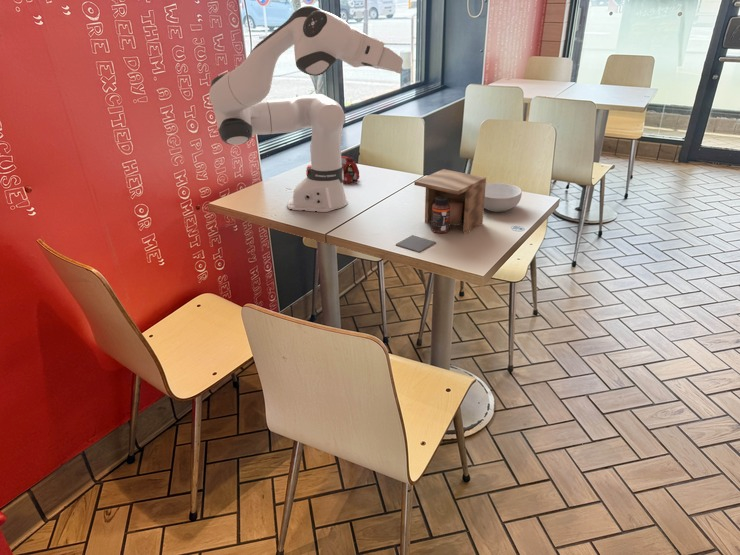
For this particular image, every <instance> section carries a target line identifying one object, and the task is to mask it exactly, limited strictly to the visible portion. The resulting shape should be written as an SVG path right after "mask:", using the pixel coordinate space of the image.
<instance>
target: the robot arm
mask: <svg viewBox="0 0 740 555" xmlns="http://www.w3.org/2000/svg"><path fill="white" fill-rule="evenodd" d="M291 47H293V48H294V59H295V65H296V67H297V69H298V70H299V71H300V72H302V73H304V74H305V75H309V76H313V77H315V76H316V77H317V76H321V75H323V74H324V73H326V72H327V71H328V70H330V68H331V67H332V66H334V65H335V63H336V61H337V60H340V61H342V62H344V63H346V64H348V65H350V66H351V67H353V68H360V67H370V68H374V69H377V70H379V69H380V70H385V71H389V72H394V73H397V74H399V75H401V74H402V73H403V68H404V67H403V63H404V60H403V57H401V56H400V55H398V54H397V53H396V52H394V51H393V50H392V49H390V48H389V47H386V46H385V42H383V41H381V40H380V39H377V38H375V37H372V36H369V35H368V34H366V33H364V31H361V30H359V29H358V28H356V27H354V26H353V27H352V26H350V25H349V24H348V22H346V21H345V20H343V19H342V18H341V17H339V16H337V15H335V14H333V13H331V12H328V11H325V10H323V9H322V8H320V7H318V6H315V5H313V4H306V5H302V6H300V7H299V8H297V9H295V11H294V12H293V13H292V14H291V15H290V17H289V18H288V19H287V20H286V21H285V22H283V23H282V24H281V25H280V26H279V27H278V28H276V29H275V30H273V31H272V32H271V33H270V34H268V35H267V36H266V37H264V38H263V39H262V40H261V41H259V42H258V43H257V44H256V45H255V46H254V48H252V50H251V52H250V53H249V54H248V56H247V57H246V58H245V59H244V61H242V63H241V64H239V65H238V66H237V67H236V68H234V69H233V70H231V71H229V72H228V73H227V72H226V74H220V75H218V76H215V78H213V80H212V81H211V84H210V89H209V92H208V94H209V95H208V98H209V102H210V103H211V105H212V110H213V114H214V117H215V122H216V124H217V128H218V135H219V136H220V139H221V141H222V142H224V143H225V144H226V145H230V146H231V145H232V146H238V145H243V144H245V143H247V142H249V141H250V140H251V138H252V137H253V135H263V136H264V135H275V134H277V135H278V134H285V133H294V132H296V131H299V130H304V129H306V128H311V140H310V145H309V152H310V162H311V163H310V164H309V165H307V166H306V170H305V171H306V172H305V175H306V177H305V178H304V179H303V180H302V181H301V182H300V183H298V184H297V185H296V186H295V187H294V189H293V194H292V197H291V198H289V200H288V202H287V208H288V209H289V210H290V209H292V210H291V211H293V210H294V211H302V210H305V211H304V212H315V211H317V212H318V213H319V212H320V213H329V212H331V211H333V210H337V209H341V208H343V207H346V206H347V204H348V200H347V195H346V192H345V188H344V182H343V180H344V173H343V166H342V164H341V156H342V137H343V128H344V124H345V121H346V115H345V112H344V109H343V107H342V106H341V105H340V103H339V102H338V101H337V100H334V99H332V98H330V97H328V95H325V94H322V93H315V94H314V93H313V94H309V95H308V94H307V95H301V96H295V97H292V98H282V99H268V100H265V98H266V97H267V96H268V95H269V93H270V90H271V88H272V85H273V84H272V82H273V76H274V72H275V68H276V64H277V62H278V60H279V58H280V57H281V56H282V55H283V53H285V52H286V51H287V50H288V49H290V48H291Z"/></svg>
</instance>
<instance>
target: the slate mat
mask: <svg viewBox="0 0 740 555" xmlns="http://www.w3.org/2000/svg"><path fill="white" fill-rule="evenodd" d="M436 243H437V242H436V241H434V240H430V239H427V238H425V237H420V236H416V235H414V234H411V235H410V236H408V237H407V238H404V239H402V240H401V241H399V242H397V243H395V246H397V247H401V248H403V249H407V250H410V251H413V252H417V253H421V252H422V251H425V250H426V249H428V248H429V247H432V246H433V245H435V244H436Z"/></svg>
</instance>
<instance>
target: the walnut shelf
mask: <svg viewBox="0 0 740 555" xmlns="http://www.w3.org/2000/svg"><path fill="white" fill-rule="evenodd" d="M486 181H487V177H486V176H481V175H476V174H470V173H466V172H461V171H455V170H450V169H445V168H443V169H440V170H438V171H435V172H433V173H431V174H428V175H426V176H424V177H421V178H420V179H417V180H415V181H414V186H418V187H421V188H425V201H424V202H425V204H424V223H426V224H428V223H430V221H431V220H432V205H433V204H434V203H436V202H435V198H436V197H438V196H445V197H447V198H448V202H450V201H461V202H463V213H462V221H463V228H462V230H463V231H462V233H463V234H468V233H470V232H471V231H473V230H475V229H476V228H478V227H479V226H481V225H482V224H484V223H483V222H484V209H485V208H484V198H485V186H486V183H487V182H486ZM431 222H432V221H431ZM469 231H470V232H469Z"/></svg>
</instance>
